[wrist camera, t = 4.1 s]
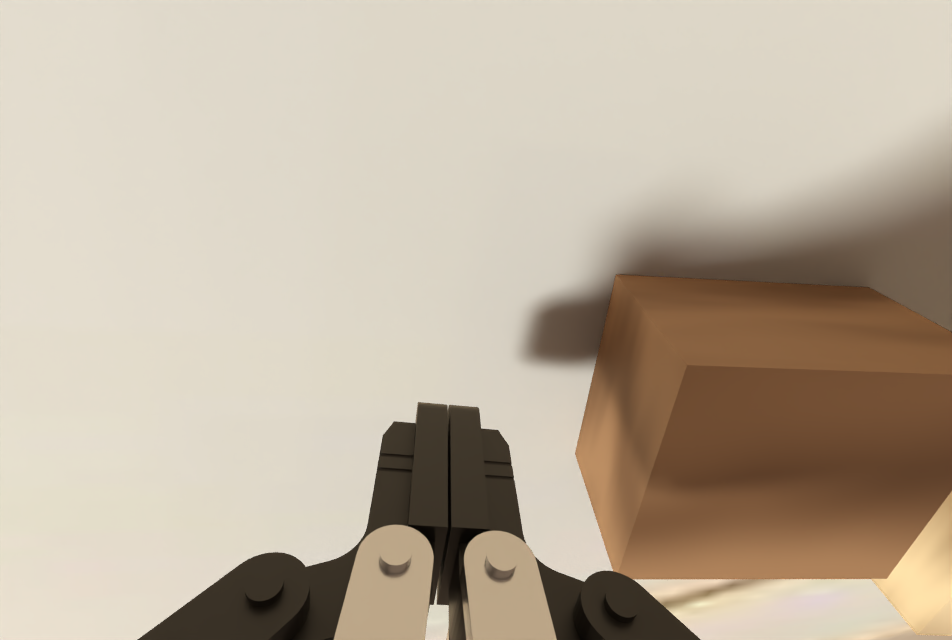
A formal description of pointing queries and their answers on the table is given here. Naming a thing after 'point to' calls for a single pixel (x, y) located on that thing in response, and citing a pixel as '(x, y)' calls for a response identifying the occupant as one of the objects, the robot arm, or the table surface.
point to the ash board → (925, 578)
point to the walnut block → (764, 429)
